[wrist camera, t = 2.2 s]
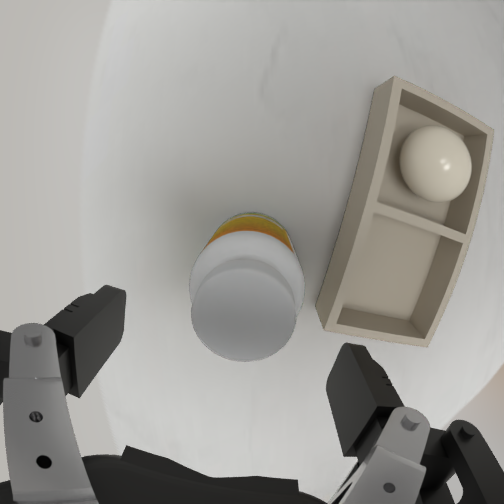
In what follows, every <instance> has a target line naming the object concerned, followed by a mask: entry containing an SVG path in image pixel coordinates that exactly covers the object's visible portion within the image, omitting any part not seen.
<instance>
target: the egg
mask: <svg viewBox="0 0 504 504" xmlns="http://www.w3.org/2000/svg"><path fill="white" fill-rule="evenodd" d="M399 165H400V171H401V174H402V177H403V179H404V181H405V183H406V184H407V186H408V187H409V188H410V189H411V191H412V192H414V193H415V194H416V195H417V196H419V197H420V198H422V199H424V200H427V201H430V202H435V203H442V202H448V201H450V200H453V199H455V198H456V197H458V196H459V195H460V194H461V193H462V192H463V191H464V190H465V188H466V187H467V185H468V183H469V180H470V177H471V172H472V163H471V157H470V154H469V151H468V149H467V147H466V145H465V143H464V142H463V141H462V139H461V138H460V137H459V136H458V135H457V134H455V133H454V132H453V131H451V130H450V129H448V128H445V127H442V126H438V125H426V126H422V127H420V128H417V129H416V130H414V131H413V132H412V133H410V134H409V135H408V137H407V138H406V139H405V141H404V143H403V145H402V147H401V150H400V156H399Z"/></svg>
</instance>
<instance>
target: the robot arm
mask: <svg viewBox="0 0 504 504" xmlns="http://www.w3.org/2000/svg"><path fill="white" fill-rule="evenodd" d="M125 305H126V292H125V290H122V289H119V288H115V287H112V286H109V285H104V286H103V287H102V288H101V289H99V290H98V291H97V292H96V293H95V294H91V293H89V294H86V295H83V296H80V297H78V298H77V299H75V300H74V301H73V302H72V303H71V304H70V305H68V306H67V307H65V308H64V310H61V311H60V312H59V313H58V314H56V316H54V317H53V318H52V319H50V320H49V321H48V322H47V323H45V324H44V325H42V324H38V323H28V324H24V325H20V326H19V327H17V328H16V329H15V330H14V331H13V333H9V332H5V331H1V330H0V405H1V403H2V402H3V412H4V433H5V445H6V454H7V462H8V469H9V476H10V480H9V481H5V482H1V483H0V504H455V503H454V500H453V498H452V495H451V493H450V490H449V488H448V486H447V483H446V482H447V481H448V480H449V479H450V478H451V477H452V476H453V475H454V474H455V473H456V474H457V476H458V478H459V481H460V483H461V485H462V487H463V496H462V498H461V500H460V502H459V503H457V504H504V472H503V470H502V468H501V467H500V465H499V463H498V461H497V460H496V458H495V456H494V455H493V453H492V451H491V450H490V448H489V446H488V444H487V443H486V441H485V440H484V438H483V437H482V435H481V433H480V432H479V430H478V429H477V428H476V427H475V426H474V425H472V424H471V423H469V422H467V421H464V420H455V421H453V422H452V423H451V424H450V426H449V427H448V428H447V430H446V431H444V430H439V429H434V428H430V424H429V421H428V420H427V418H426V417H425V416H424V415H423V414H422V413H420V412H419V411H417V410H415V409H413V408H410V407H405V406H404V405H403V403H402V401H401V399H400V397H399V395H398V394H397V392H396V390H395V388H394V386H392V383H391V381H390V379H388V376H387V374H386V372H385V370H384V369H383V368H382V367H381V366H380V365H379V364H378V363H377V362H376V361H375V360H373V359H372V358H371V356H370V354H369V352H368V350H367V349H366V347H365V346H363V345H356V344H350V343H345V344H343V346H342V347H341V349H340V352H339V354H338V356H337V359H336V361H335V363H334V365H333V367H332V370H331V372H330V374H329V376H328V379H327V384H326V392H327V396H328V399H329V403H330V407H331V410H332V414H333V418H334V422H335V425H336V429H337V433H338V437H339V441H340V444H341V448H342V452H343V456H344V457H357V459H358V461H357V462H356V464H355V465H354V466H353V467H352V469H351V471H350V472H349V474H348V475H347V477H346V478H345V479H344V481H343V482H342V484H341V485H340V487H339V488H338V489H337V491H336V492H335V494H334V495H333V496H332V498H331V499H330V500H329V502H328V503H326V502H324V501H322V500H321V499H318V498H316V497H314V496H312V495H309V494H306V493H304V492H300V491H299V488H298V480H294V479H281V478H270V477H261V476H249V477H226V478H213V477H208V476H206V475H203V474H201V473H199V472H196V471H194V470H192V469H189V468H187V467H185V466H183V465H181V464H179V463H177V462H174V461H172V460H170V459H168V458H165V457H162V456H158V455H155V454H151V453H148V452H145V451H142V450H139V449H136V448H133V447H130V446H127V445H126V447H125V450H124V452H123V454H122V456H119V455H91V456H85V457H81V455H80V452H79V448H78V445H77V442H76V438H75V434H74V431H73V427H72V423H71V419H70V415H69V411H68V407H67V402H66V397H65V396H66V395H67V394H68V393H69V394H71V395H74V396H76V397H78V398H80V397H81V395H82V394H83V392H84V391H85V390H86V388H87V387H88V385H89V384H90V383H91V381H92V380H93V379H94V377H95V376H96V374H97V373H98V372H99V370H100V369H101V368H102V366H103V365H104V363H105V362H106V361H107V359H108V358H109V357H110V355H111V354H112V353H113V351H114V350H115V349H116V347H117V346H118V345H119V343H120V341H121V339H122V335H123V331H124V319H125Z"/></svg>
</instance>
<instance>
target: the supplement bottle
mask: <svg viewBox="0 0 504 504" xmlns="http://www.w3.org/2000/svg"><path fill="white" fill-rule="evenodd" d="M189 292H190V298H191V302H192V308H191V318H192V324H193V327H194V330H195V332H196V334H197V336H198V337H199V339H200V340H201V341H202V343H203V344H204V345H205V346H206V347H207V348H208V349H210V350H211V351H212V352H214V353H215V354H217V355H219V356H221V357H224V358H226V359H230V360H234V361H242V362H250V361H257V360H261V359H264V358H267V357H269V356H271V355H273V354H275V353H276V352H278V351H279V350H280V349H281V348H282V347H283V346H284V345H285V344H286V343H287V342H288V340H289V339H290V337H291V335H292V333H293V331H294V328H295V324H296V317H297V315H298V313H299V311H300V309H301V307H302V304H303V301H304V295H305V281H304V275H303V271H302V268H301V265H300V263H299V260H298V258H297V255H296V253H295V250H294V247H293V245H292V242H291V239H290V237H289V235H288V233H287V232H286V230H285V229H284V228H283V226H282V225H281V224H280V223H278V222H277V221H276V220H274V219H273V218H271V217H269V216H267V215H264V214H260V213H243V214H239V215H236V216H233V217H232V218H230V219H228V220H227V221H225V222H224V223H223V224H222V225H221V226H220V227H219V228H218V230H217V231H216V232H215V234H214V235H213V237H212V238H211V239H210V241H209V242H208V244H207V245H206V247H205V248H204V249H203V251H202V252H201V253H200V255H199V256H198V258H197V260H196V262H195V264H194V266H193V269H192V272H191V276H190V283H189Z"/></svg>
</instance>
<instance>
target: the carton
mask: <svg viewBox="0 0 504 504" xmlns="http://www.w3.org/2000/svg"><path fill="white" fill-rule="evenodd" d="M426 125H438V126H442V127H445V128H448V129H450V130H451V131H453V132H454V133H455V134H457V135H458V136H459V137H460V138H461V139H462V141H463V142H464V143H465V145H466V147H467V149H468V151H469V154H470V157H471V163H472V172H471V177H470V180H469V183H468V185H467V187H466V188H465V190H464V191H463V192H462V193H461V194H460V195H459V196H458V197H456V198H455V199H453V200H450V201H448V202H442V203H435V202H430V201H427V200H424V199H422V198H420V197H419V196H417V195H416V194H415V193H414V192H412V191H411V189H410V188H409V187H408V186H407V184H406V183H405V181H404V179H403V177H402V174H401V171H400V165H399V156H400V150H401V147H402V145H403V143H404V141H405V139H406V138H407V137H408V135H409V134H410V133H412V132H413V131H414V130H416V129H417V128H420V127H422V126H426ZM493 135H494V130H493V129H492V128H490V127H489V126H487V125H486V124H484V123H483V122H481V121H479V120H478V119H476V118H475V117H473V116H471V115H470V114H468V113H466V112H465V111H463V110H461V109H460V108H458V107H456V106H454V105H452V104H451V103H449V102H447V101H445V100H443V99H441V98H440V97H438V96H436V95H434V94H432V93H430V92H428V91H426V90H424V89H422V88H420V87H418V86H416V85H413V84H411V83H409V82H407V81H405V80H402V79H400V78H398V77H396V76H393V77H392V78H390V79H389V80H387V81H386V82H384V83H383V84H381V85H380V86H378V87H377V88H375V89H374V94H373V99H372V104H371V109H370V113H369V118H368V123H367V127H366V132H365V136H364V140H363V145H362V149H361V153H360V157H359V161H358V165H357V169H356V173H355V177H354V181H353V185H352V188H351V192H350V196H349V199H348V203H347V207H346V210H345V214H344V217H343V221H342V224H341V228H340V231H339V234H338V238H337V241H336V244H335V248H334V251H333V254H332V257H331V261H330V264H329V267H328V270H327V273H326V276H325V279H324V282H323V285H322V288H321V291H320V294H319V297H318V300H317V303H316V306H315V307H316V310H317V312H318V315H319V318H320V321H321V324H322V327H323V329H324V330H325V331H330V332H335V333H341V334H346V335H352V336H357V337H363V338H369V339H375V340H381V341H387V342H394V343H400V344H407V345H414V346H421V347H428V345H429V343H430V341H431V339H432V337H433V335H434V333H435V331H436V329H437V327H438V325H439V322H440V320H441V318H442V316H443V313H444V311H445V309H446V306H447V304H448V302H449V299H450V297H451V294H452V292H453V289H454V287H455V284H456V282H457V279H458V276H459V273H460V271H461V268H462V265H463V262H464V259H465V256H466V253H467V250H468V247H469V244H470V241H471V237H472V234H473V231H474V227H475V224H476V220H477V216H478V213H479V209H480V205H481V201H482V196H483V192H484V187H485V183H486V178H487V173H488V167H489V162H490V156H491V150H492V143H493Z"/></svg>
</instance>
